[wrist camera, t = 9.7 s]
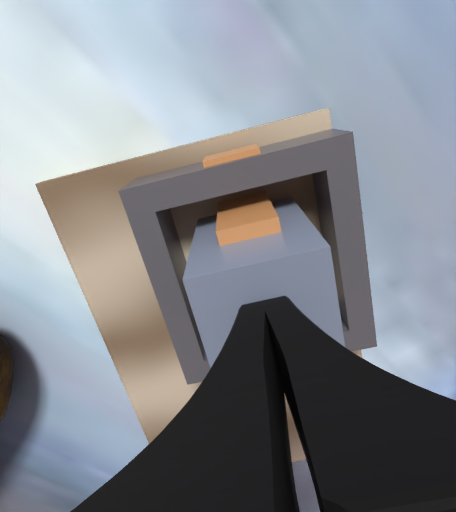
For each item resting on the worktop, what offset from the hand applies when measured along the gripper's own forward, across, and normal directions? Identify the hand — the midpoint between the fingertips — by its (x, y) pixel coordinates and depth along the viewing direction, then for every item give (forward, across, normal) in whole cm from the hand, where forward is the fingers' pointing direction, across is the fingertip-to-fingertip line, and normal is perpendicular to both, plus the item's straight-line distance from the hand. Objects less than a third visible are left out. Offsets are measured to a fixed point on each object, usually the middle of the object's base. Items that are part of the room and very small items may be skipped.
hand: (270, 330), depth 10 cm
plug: (+6, 0, 0) cm, 6 cm away
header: (+7, 0, 0) cm, 7 cm away
